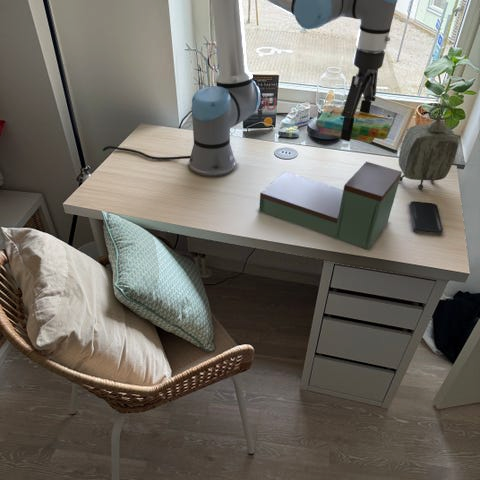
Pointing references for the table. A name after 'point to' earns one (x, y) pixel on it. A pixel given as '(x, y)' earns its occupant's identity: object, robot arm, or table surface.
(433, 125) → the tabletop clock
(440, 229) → the phone
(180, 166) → the table surface
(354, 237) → the step shelf
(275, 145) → the table surface
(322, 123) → the puzzle game
